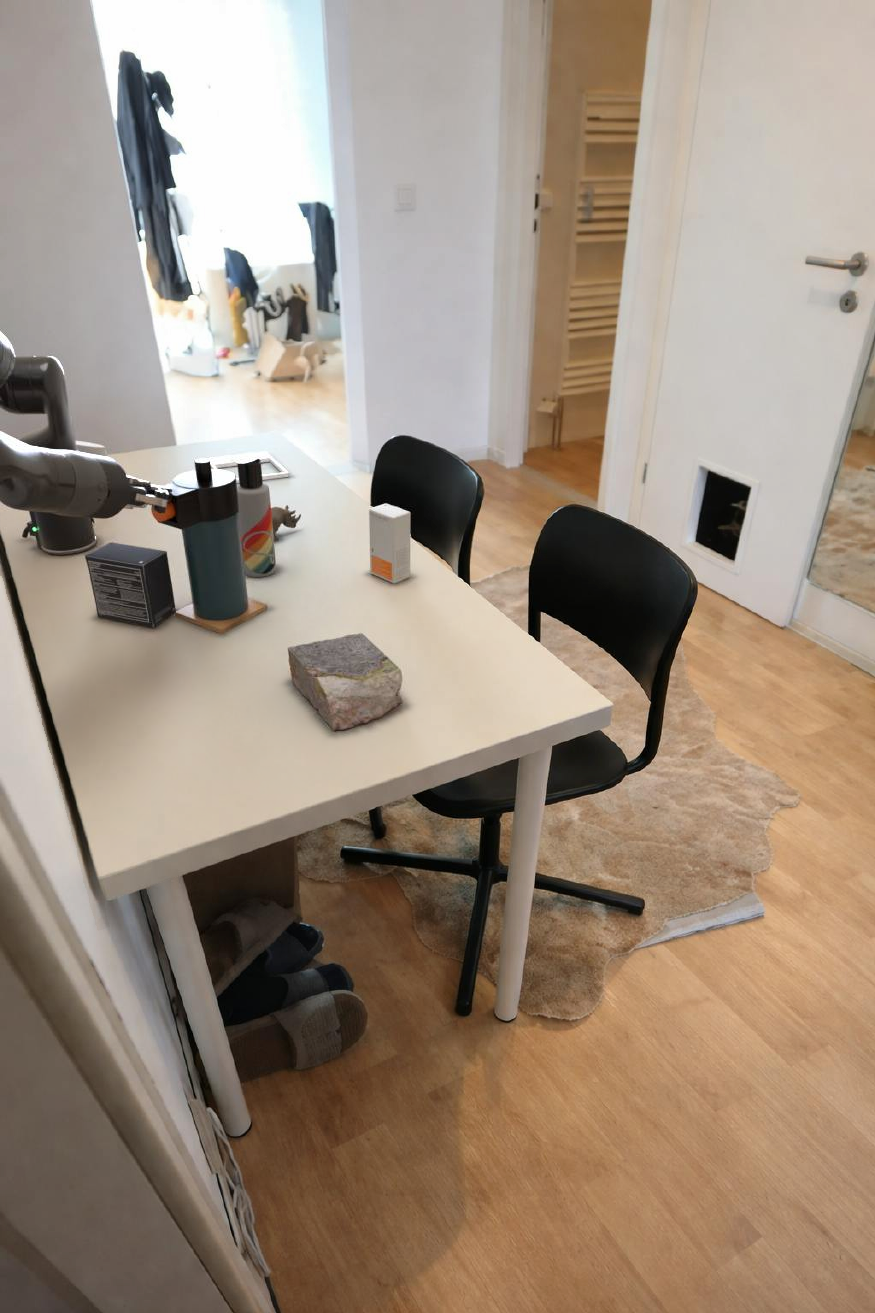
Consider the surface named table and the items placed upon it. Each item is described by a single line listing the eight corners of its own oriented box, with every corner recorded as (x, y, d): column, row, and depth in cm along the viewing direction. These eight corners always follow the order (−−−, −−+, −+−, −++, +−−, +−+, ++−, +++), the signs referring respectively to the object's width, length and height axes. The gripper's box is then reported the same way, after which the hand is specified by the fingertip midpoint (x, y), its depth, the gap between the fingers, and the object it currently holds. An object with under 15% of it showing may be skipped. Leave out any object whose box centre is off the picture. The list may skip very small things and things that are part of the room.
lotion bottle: (269, 579, 141) (258, 464, 131) (237, 576, 142) (224, 461, 132) (281, 566, 146) (271, 454, 135) (250, 562, 146) (239, 451, 136)
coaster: (221, 634, 124) (220, 629, 124) (175, 616, 129) (174, 611, 128) (267, 609, 131) (267, 604, 131) (222, 593, 136) (221, 588, 135)
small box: (179, 611, 130) (169, 549, 125) (154, 629, 125) (142, 565, 120) (123, 600, 133) (111, 539, 128) (96, 617, 128) (82, 555, 122)
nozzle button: (165, 523, 114) (162, 505, 112) (152, 519, 115) (149, 501, 114) (182, 517, 116) (179, 499, 115) (169, 513, 117) (166, 495, 116)
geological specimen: (357, 627, 116) (410, 671, 105) (358, 666, 119) (410, 712, 107) (285, 644, 111) (332, 691, 100) (288, 683, 114) (334, 734, 102)
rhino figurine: (308, 532, 159) (306, 503, 156) (245, 550, 151) (242, 519, 148) (297, 526, 162) (294, 497, 159) (234, 543, 154) (230, 513, 151)
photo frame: (265, 450, 201) (288, 471, 187) (266, 454, 201) (289, 476, 188) (205, 457, 195) (224, 480, 181) (206, 462, 196) (225, 484, 182)
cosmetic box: (369, 574, 143) (367, 508, 137) (387, 567, 146) (386, 502, 140) (393, 584, 140) (393, 517, 134) (411, 577, 142) (411, 511, 136)
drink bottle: (205, 634, 122) (183, 479, 110) (165, 618, 126) (139, 467, 114) (261, 605, 131) (246, 458, 119) (221, 591, 135) (203, 448, 123)
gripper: (27, 500, 99) (121, 508, 115) (118, 531, 96) (201, 535, 112) (38, 438, 97) (132, 455, 114) (131, 467, 94) (214, 481, 111)
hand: (166, 495), depth 113 cm, fingers closed
